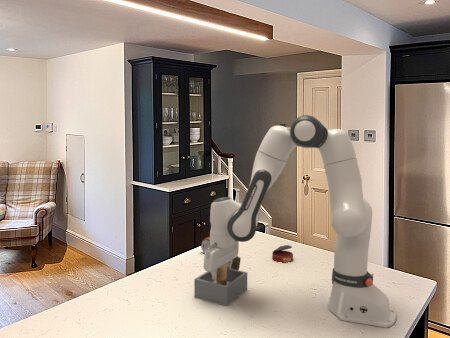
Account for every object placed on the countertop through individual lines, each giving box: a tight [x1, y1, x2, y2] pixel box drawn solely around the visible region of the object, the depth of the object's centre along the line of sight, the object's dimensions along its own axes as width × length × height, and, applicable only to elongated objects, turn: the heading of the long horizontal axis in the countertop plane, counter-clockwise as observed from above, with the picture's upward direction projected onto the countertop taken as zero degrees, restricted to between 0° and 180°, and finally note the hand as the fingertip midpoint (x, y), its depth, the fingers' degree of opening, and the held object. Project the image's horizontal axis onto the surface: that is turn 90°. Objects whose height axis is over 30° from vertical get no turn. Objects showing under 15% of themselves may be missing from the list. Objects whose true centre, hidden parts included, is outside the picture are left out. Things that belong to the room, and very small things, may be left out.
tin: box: [200, 236, 211, 254], centre depth 192 cm, size 15×3×8 cm, turn 58°
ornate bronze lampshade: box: [231, 255, 242, 271], centre depth 166 cm, size 8×7×8 cm
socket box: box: [193, 269, 248, 307], centre depth 149 cm, size 14×16×7 cm
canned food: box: [271, 244, 294, 264], centre depth 186 cm, size 11×10×10 cm
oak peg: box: [216, 263, 227, 285], centre depth 149 cm, size 4×4×12 cm
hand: (221, 275), depth 149 cm, fingers open, 8 cm apart
